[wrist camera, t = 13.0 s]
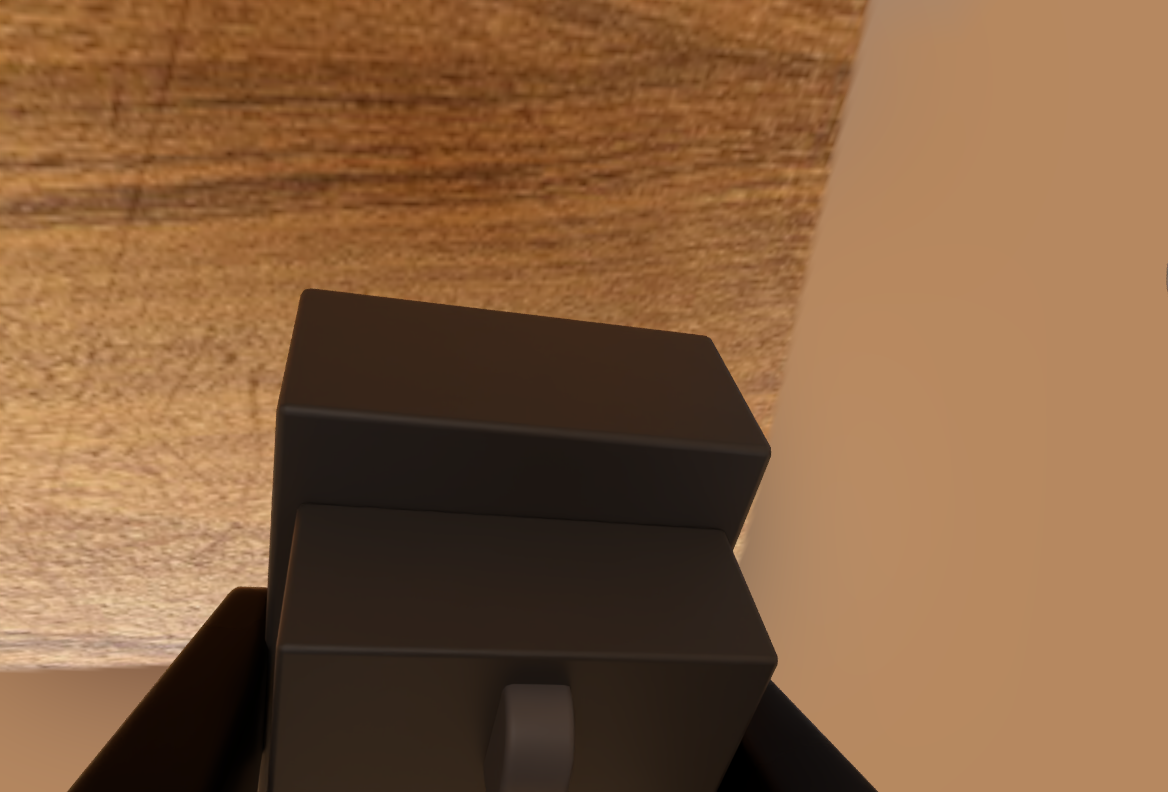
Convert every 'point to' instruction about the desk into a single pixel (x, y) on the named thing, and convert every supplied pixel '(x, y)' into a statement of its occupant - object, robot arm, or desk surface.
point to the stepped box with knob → (506, 555)
